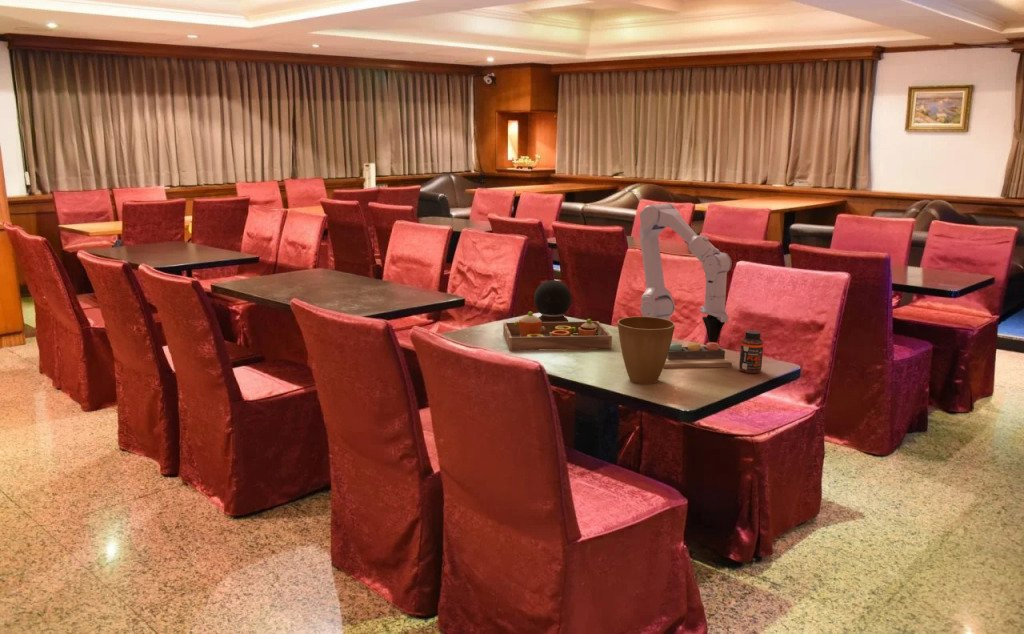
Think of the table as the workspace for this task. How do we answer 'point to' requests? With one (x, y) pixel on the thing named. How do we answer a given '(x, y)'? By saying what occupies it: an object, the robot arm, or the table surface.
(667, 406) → the table surface
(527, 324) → the toy tea set
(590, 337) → the tea set tray rim
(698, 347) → the ochre button
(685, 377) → the table surface
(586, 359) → the table surface
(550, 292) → the dark fuzzy ball
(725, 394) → the table surface
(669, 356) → the button board
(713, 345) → the brick button
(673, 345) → the teal button
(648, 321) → the plant pot
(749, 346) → the supplement bottle
